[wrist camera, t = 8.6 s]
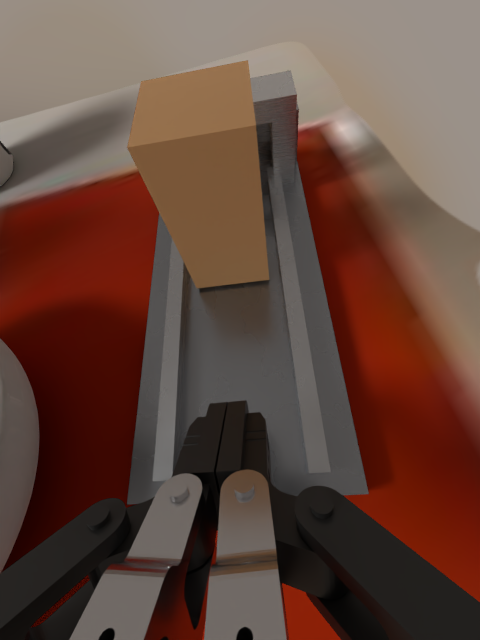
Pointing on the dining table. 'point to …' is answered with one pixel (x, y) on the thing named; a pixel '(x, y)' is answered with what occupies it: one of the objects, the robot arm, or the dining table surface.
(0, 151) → the supplement can
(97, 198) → the dining table surface
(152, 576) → the robot arm
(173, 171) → the block
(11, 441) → the serving bowl
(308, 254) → the rail
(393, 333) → the dining table surface
